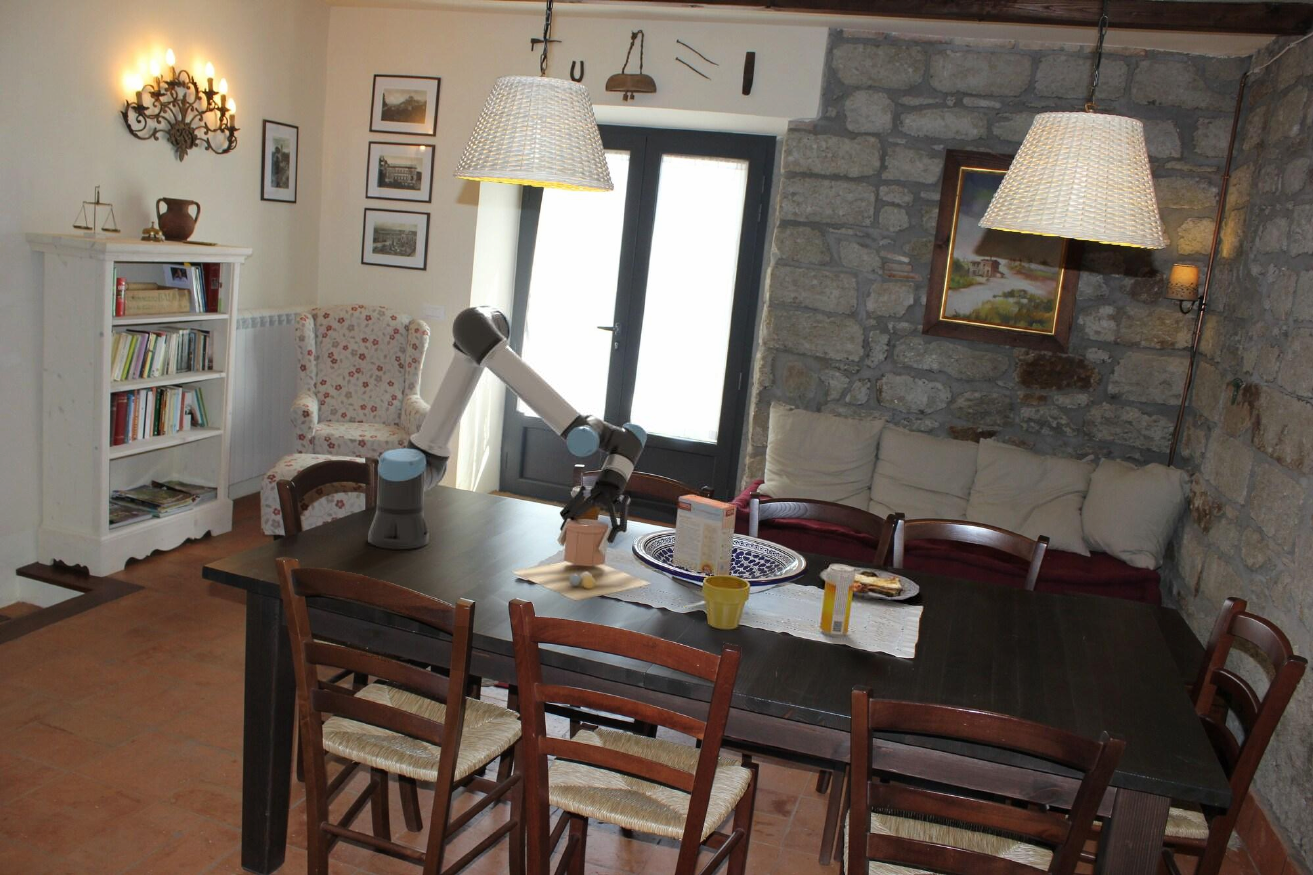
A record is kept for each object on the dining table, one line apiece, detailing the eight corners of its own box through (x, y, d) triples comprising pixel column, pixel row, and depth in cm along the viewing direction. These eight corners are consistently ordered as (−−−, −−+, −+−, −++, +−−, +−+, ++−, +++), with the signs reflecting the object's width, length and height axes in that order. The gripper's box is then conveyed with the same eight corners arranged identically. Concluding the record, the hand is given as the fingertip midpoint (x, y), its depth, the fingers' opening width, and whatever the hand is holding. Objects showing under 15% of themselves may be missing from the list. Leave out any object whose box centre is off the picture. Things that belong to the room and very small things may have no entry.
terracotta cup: (555, 557, 248) (558, 522, 246) (586, 551, 255) (589, 517, 253) (583, 568, 240) (585, 532, 239) (614, 562, 248) (617, 527, 246)
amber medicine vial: (841, 627, 223) (849, 563, 221) (851, 637, 217) (859, 572, 215) (815, 627, 222) (823, 562, 219) (824, 637, 216) (833, 571, 214)
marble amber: (579, 587, 232) (580, 575, 232) (588, 585, 234) (589, 573, 234) (587, 591, 230) (588, 578, 230) (597, 589, 232) (598, 576, 232)
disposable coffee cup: (563, 526, 287) (566, 485, 285) (594, 525, 291) (597, 485, 289) (574, 535, 279) (577, 493, 277) (606, 534, 283) (609, 493, 281)
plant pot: (689, 622, 217) (693, 579, 216) (717, 612, 225) (721, 571, 224) (727, 636, 211) (732, 592, 209) (754, 626, 219) (759, 583, 217)
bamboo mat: (511, 574, 239) (511, 571, 239) (585, 559, 256) (585, 557, 256) (576, 603, 223) (576, 600, 223) (651, 585, 240) (651, 583, 240)
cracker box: (729, 587, 245) (738, 505, 241) (714, 592, 240) (723, 508, 237) (685, 572, 253) (693, 492, 250) (670, 576, 249) (677, 495, 245)
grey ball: (565, 585, 233) (566, 573, 232) (575, 583, 235) (576, 571, 234) (574, 589, 231) (575, 576, 230) (583, 586, 233) (584, 574, 232)
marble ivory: (576, 583, 235) (577, 571, 235) (585, 581, 237) (586, 569, 237) (584, 586, 233) (585, 574, 233) (594, 584, 235) (595, 572, 235)
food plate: (814, 592, 247) (816, 578, 246) (823, 568, 269) (825, 556, 268) (916, 612, 241) (919, 598, 240) (918, 586, 263) (920, 573, 262)
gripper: (658, 492, 254) (626, 564, 243) (578, 477, 263) (544, 546, 252) (651, 475, 249) (618, 548, 237) (570, 460, 258) (535, 530, 246)
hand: (580, 547), depth 244 cm, fingers closed on terracotta cup, 11 cm apart
